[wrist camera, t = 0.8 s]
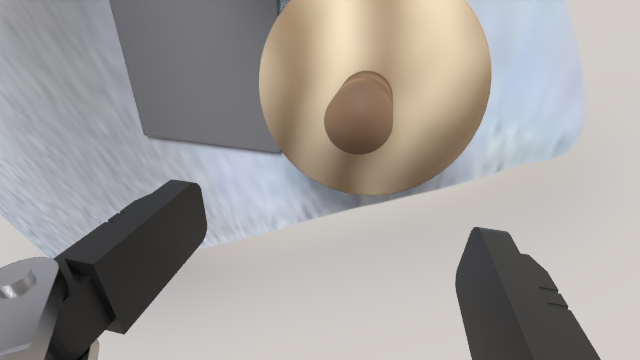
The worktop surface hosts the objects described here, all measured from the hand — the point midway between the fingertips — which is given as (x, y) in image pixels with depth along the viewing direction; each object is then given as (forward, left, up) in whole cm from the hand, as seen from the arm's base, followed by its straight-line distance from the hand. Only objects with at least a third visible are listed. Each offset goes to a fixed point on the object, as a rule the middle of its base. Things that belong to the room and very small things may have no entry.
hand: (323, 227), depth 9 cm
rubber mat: (-19, 0, -24) cm, 30 cm away
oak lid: (0, 0, -17) cm, 17 cm away
